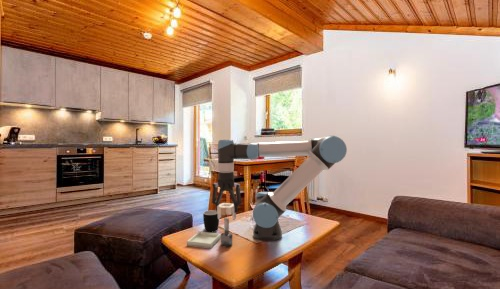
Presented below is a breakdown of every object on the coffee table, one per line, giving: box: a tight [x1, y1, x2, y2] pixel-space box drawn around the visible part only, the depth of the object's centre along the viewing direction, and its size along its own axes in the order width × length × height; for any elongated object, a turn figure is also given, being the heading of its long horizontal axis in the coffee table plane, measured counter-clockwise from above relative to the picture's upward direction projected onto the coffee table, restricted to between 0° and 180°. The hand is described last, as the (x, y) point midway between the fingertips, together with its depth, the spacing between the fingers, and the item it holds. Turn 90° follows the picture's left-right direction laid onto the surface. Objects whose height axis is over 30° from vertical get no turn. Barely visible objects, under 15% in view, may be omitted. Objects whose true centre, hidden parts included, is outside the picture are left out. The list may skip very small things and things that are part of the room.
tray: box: [186, 231, 222, 249], centre depth 124 cm, size 13×13×2 cm
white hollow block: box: [217, 202, 234, 216], centre depth 119 cm, size 9×7×3 cm
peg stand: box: [220, 216, 233, 248], centre depth 120 cm, size 6×6×13 cm
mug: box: [202, 209, 220, 233], centre depth 141 cm, size 12×9×10 cm
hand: (226, 218), depth 120 cm, fingers closed on white hollow block, 7 cm apart
